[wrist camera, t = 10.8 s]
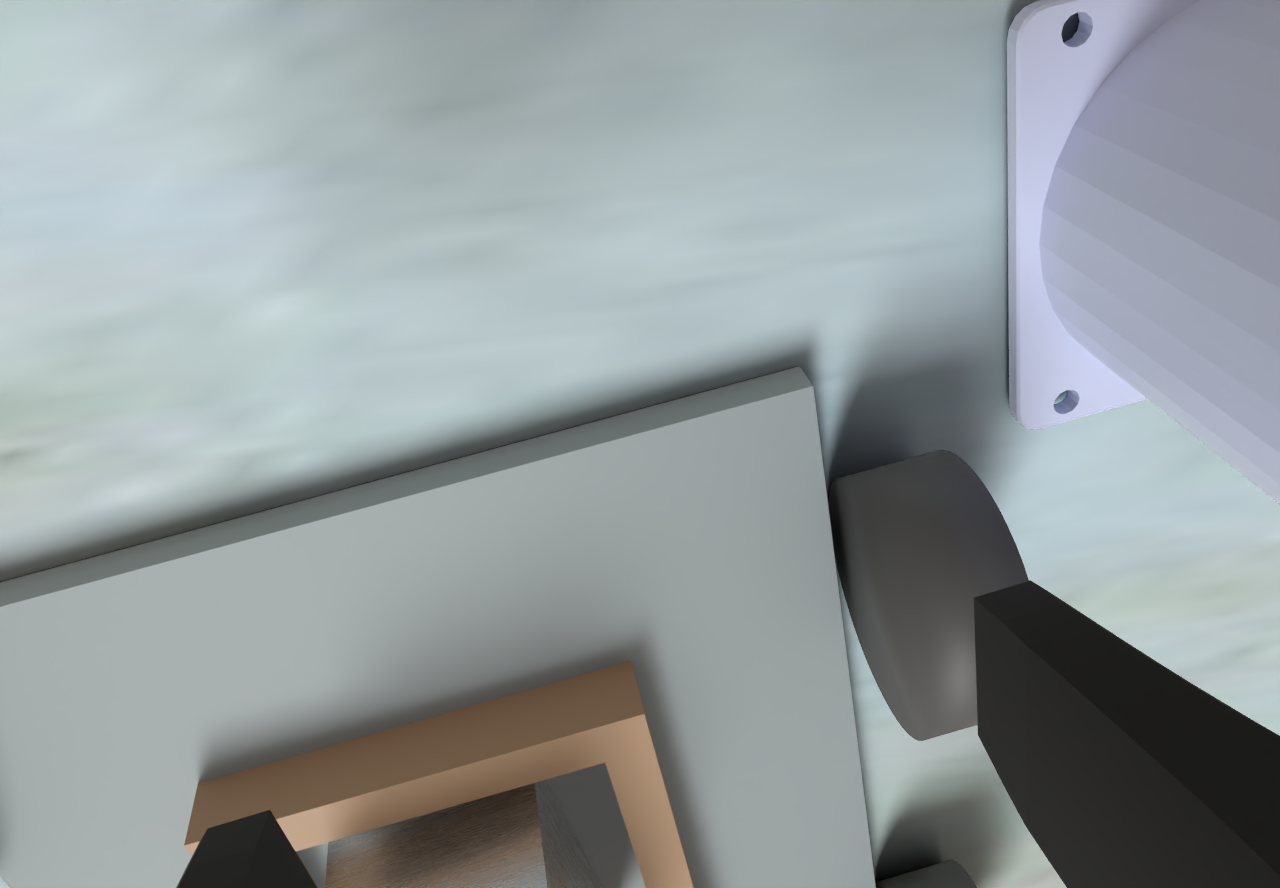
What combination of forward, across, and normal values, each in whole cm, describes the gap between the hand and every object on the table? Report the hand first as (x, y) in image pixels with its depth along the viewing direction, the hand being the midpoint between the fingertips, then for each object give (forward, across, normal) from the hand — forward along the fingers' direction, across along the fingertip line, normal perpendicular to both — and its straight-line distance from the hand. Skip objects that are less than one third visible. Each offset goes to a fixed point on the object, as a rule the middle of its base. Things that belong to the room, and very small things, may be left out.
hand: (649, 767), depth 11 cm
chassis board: (+10, +4, +12) cm, 16 cm away
